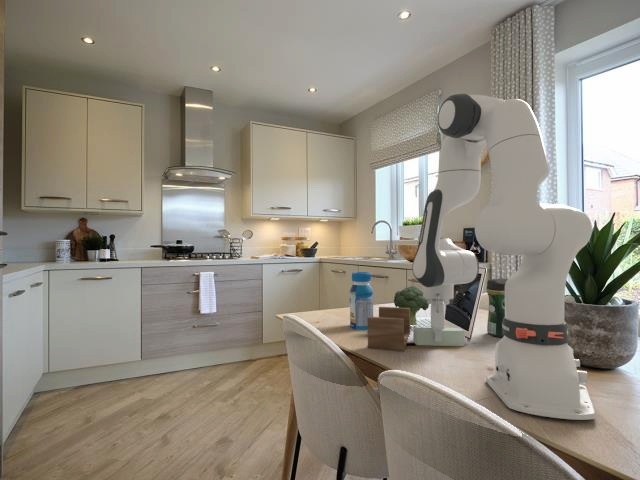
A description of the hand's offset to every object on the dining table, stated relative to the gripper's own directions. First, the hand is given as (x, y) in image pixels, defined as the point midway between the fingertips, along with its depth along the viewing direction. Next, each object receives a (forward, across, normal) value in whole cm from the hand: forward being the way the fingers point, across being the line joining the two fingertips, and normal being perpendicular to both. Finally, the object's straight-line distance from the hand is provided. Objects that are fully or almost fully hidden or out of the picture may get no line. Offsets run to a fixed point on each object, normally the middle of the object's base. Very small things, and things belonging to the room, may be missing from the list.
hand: (438, 338), depth 113 cm
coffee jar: (+2, +18, -20) cm, 27 cm away
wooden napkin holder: (+2, -2, +14) cm, 14 cm away
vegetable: (+2, +20, +10) cm, 22 cm away
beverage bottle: (+2, +12, +26) cm, 29 cm away
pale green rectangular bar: (+2, 0, 0) cm, 2 cm away
